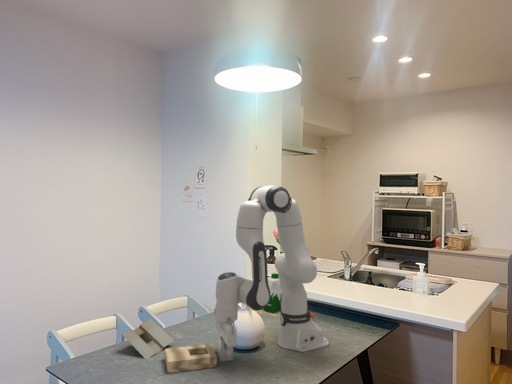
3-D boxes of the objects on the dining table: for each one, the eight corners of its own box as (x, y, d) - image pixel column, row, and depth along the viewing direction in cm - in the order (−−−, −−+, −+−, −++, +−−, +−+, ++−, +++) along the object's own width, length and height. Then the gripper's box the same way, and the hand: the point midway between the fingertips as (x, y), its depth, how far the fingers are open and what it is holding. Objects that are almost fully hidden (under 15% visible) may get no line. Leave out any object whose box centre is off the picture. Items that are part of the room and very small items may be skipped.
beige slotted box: (167, 350, 166) (147, 324, 170) (175, 339, 162) (154, 312, 166) (137, 371, 152) (116, 341, 157) (146, 359, 148) (124, 329, 153)
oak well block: (210, 353, 154) (210, 343, 154) (216, 366, 143) (216, 356, 143) (164, 358, 149) (165, 348, 149) (167, 373, 137) (168, 362, 137)
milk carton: (283, 310, 211) (283, 274, 211) (273, 314, 205) (274, 277, 204) (270, 307, 217) (271, 272, 217) (260, 310, 210) (261, 274, 210)
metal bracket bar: (230, 355, 153) (230, 335, 153) (233, 359, 149) (233, 339, 149) (218, 357, 151) (218, 337, 151) (220, 361, 147) (220, 340, 147)
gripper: (241, 322, 141) (240, 359, 141) (227, 306, 161) (227, 338, 161) (224, 324, 139) (224, 361, 139) (213, 307, 159) (212, 340, 159)
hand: (225, 349), depth 150 cm, fingers open, 7 cm apart
